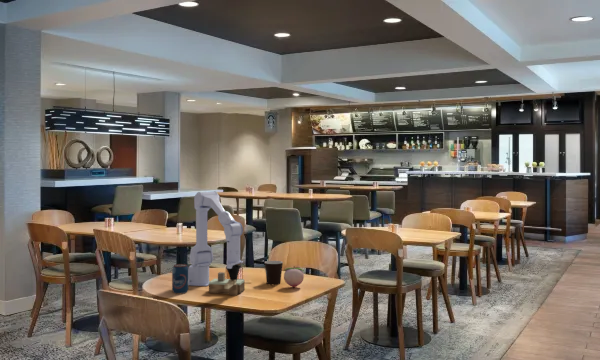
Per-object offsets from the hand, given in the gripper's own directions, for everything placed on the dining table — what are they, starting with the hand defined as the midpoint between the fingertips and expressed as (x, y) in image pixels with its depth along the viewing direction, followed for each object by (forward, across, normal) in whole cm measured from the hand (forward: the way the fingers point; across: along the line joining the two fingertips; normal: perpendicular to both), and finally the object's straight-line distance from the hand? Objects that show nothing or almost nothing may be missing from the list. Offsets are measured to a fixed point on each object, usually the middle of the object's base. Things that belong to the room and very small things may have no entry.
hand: (233, 282), depth 249 cm
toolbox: (+5, +5, +4) cm, 9 cm away
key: (0, -6, 0) cm, 6 cm away
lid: (+2, +5, +4) cm, 7 cm away
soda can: (+6, +1, +24) cm, 25 cm away
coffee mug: (+6, +27, -12) cm, 30 cm away
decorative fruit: (+6, +18, -24) cm, 30 cm away
